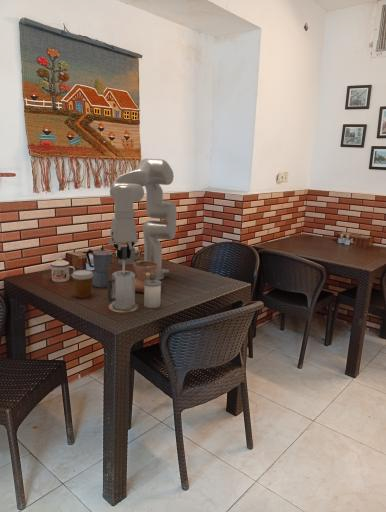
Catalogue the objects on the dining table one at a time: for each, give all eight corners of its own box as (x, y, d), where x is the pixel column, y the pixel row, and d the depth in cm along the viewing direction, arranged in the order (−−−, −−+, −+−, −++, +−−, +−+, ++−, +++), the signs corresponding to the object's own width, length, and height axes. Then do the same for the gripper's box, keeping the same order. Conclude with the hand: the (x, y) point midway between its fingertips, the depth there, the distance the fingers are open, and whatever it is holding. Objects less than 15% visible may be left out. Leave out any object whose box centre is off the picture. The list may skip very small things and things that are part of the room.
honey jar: (82, 302, 178) (82, 276, 175) (68, 297, 183) (67, 272, 180) (98, 296, 186) (97, 272, 183) (83, 292, 191) (83, 268, 188)
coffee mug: (118, 264, 239) (118, 248, 236) (118, 260, 248) (118, 245, 246) (140, 264, 242) (140, 248, 239) (139, 260, 251) (139, 245, 249)
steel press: (129, 301, 180) (129, 269, 176) (138, 308, 172) (139, 275, 168) (103, 305, 173) (103, 272, 169) (112, 313, 165) (112, 279, 162)
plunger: (125, 285, 173) (125, 246, 168) (128, 287, 170) (128, 247, 166) (119, 286, 171) (119, 246, 167) (121, 288, 169) (121, 248, 164)
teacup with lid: (50, 282, 202) (49, 260, 199) (53, 277, 210) (52, 256, 207) (74, 282, 204) (73, 260, 201) (76, 277, 212) (75, 256, 210)
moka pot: (110, 289, 196) (110, 250, 191) (81, 286, 199) (80, 247, 194) (118, 283, 205) (117, 246, 200) (90, 280, 208) (89, 243, 203)
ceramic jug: (162, 296, 190) (163, 267, 187) (132, 297, 187) (132, 268, 184) (156, 284, 207) (157, 258, 204) (128, 285, 204) (129, 258, 200)
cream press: (155, 302, 182) (156, 270, 178) (163, 308, 176) (164, 274, 172) (140, 305, 178) (141, 272, 174) (148, 311, 171) (149, 276, 168)
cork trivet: (130, 301, 182) (130, 299, 182) (143, 310, 172) (143, 309, 171) (103, 305, 175) (103, 304, 175) (115, 316, 165) (115, 314, 164)
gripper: (137, 213, 171) (137, 254, 175) (101, 214, 162) (102, 258, 166) (145, 215, 164) (145, 258, 169) (108, 217, 156) (108, 262, 160)
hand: (123, 257), depth 168 cm, fingers closed on plunger, 3 cm apart
